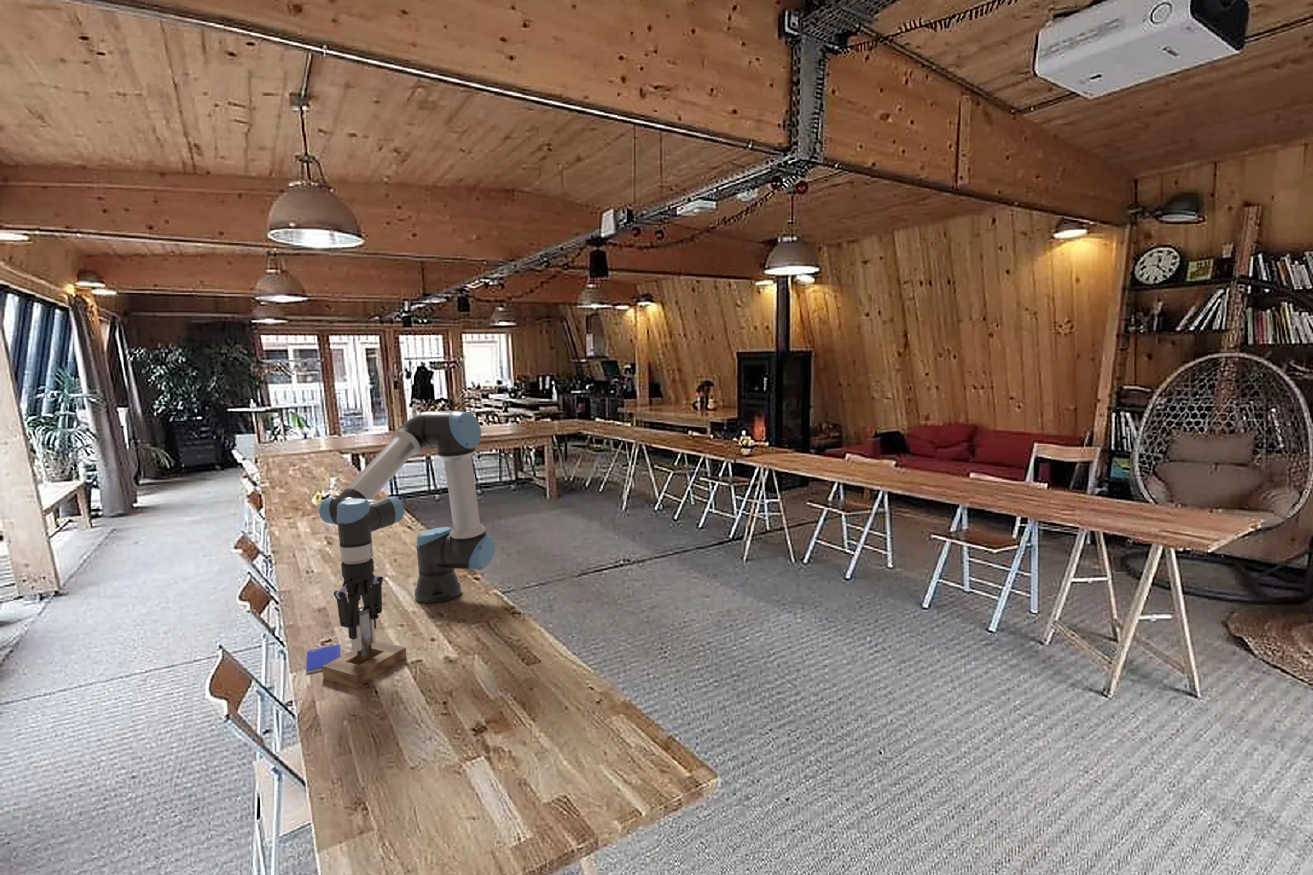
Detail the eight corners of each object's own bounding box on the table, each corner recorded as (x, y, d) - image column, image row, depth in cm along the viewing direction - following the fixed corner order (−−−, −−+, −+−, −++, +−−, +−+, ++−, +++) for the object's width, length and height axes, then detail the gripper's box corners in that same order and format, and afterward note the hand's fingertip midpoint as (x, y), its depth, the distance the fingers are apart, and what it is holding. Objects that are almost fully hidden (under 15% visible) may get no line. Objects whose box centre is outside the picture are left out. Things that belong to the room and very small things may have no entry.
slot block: (374, 651, 172) (373, 639, 171) (406, 659, 167) (405, 647, 166) (323, 679, 157) (322, 666, 157) (356, 688, 152) (355, 675, 152)
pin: (365, 648, 164) (362, 605, 162) (375, 651, 162) (372, 607, 161) (353, 655, 160) (350, 611, 159) (363, 657, 159) (360, 613, 157)
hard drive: (306, 650, 171) (305, 670, 160) (339, 644, 174) (340, 662, 164) (307, 656, 171) (306, 676, 160) (340, 649, 175) (341, 668, 164)
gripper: (373, 548, 167) (379, 630, 170) (317, 567, 152) (325, 657, 155) (393, 551, 164) (399, 635, 167) (338, 571, 149) (346, 662, 152)
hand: (364, 645), depth 161 cm, fingers closed on pin, 4 cm apart
